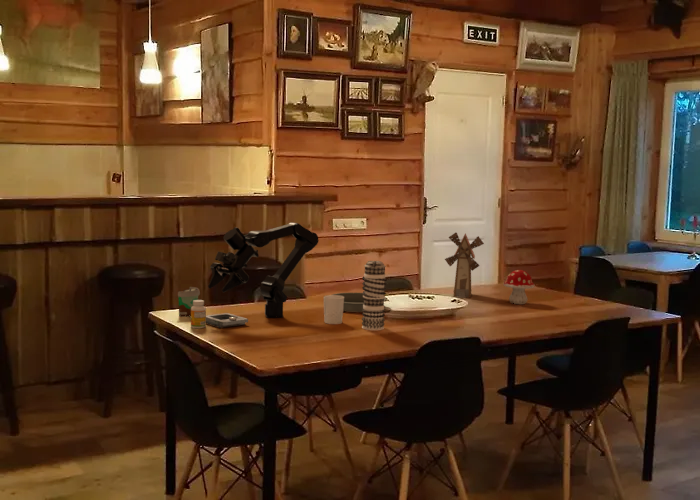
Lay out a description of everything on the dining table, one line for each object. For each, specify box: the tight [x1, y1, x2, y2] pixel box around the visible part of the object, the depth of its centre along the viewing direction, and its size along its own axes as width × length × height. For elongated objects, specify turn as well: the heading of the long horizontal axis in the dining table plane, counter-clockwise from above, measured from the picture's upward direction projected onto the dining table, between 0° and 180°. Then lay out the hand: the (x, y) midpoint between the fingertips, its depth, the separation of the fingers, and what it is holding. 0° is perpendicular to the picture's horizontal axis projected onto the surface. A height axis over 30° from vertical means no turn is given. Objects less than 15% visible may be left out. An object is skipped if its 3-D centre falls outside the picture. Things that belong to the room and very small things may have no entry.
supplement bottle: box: [190, 299, 207, 329], centre depth 301 cm, size 5×5×10 cm
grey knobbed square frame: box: [206, 312, 249, 329], centre depth 309 cm, size 16×11×3 cm
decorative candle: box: [361, 260, 388, 331], centre depth 307 cm, size 9×9×25 cm
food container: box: [177, 286, 201, 317], centre depth 323 cm, size 12×6×10 cm, turn 168°
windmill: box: [444, 232, 485, 299], centre depth 383 cm, size 18×13×30 cm
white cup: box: [323, 294, 344, 325], centre depth 316 cm, size 8×8×10 cm
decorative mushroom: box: [502, 269, 535, 305], centre depth 369 cm, size 14×14×15 cm
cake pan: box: [331, 292, 387, 313], centre depth 349 cm, size 25×25×4 cm
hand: (215, 289), depth 305 cm, fingers open, 9 cm apart
